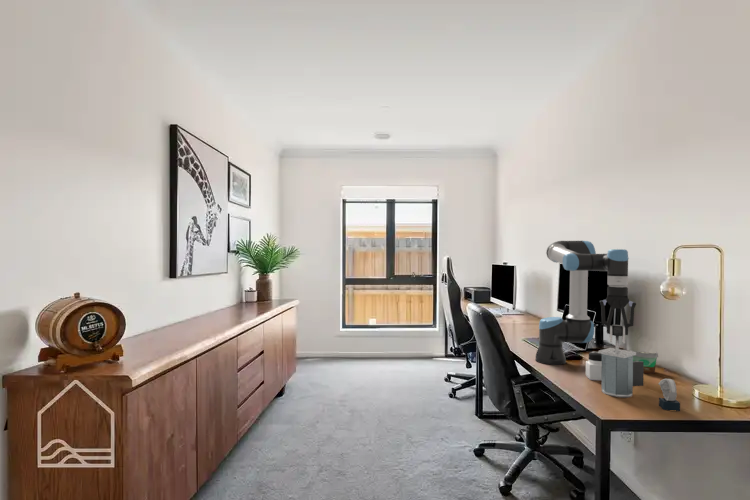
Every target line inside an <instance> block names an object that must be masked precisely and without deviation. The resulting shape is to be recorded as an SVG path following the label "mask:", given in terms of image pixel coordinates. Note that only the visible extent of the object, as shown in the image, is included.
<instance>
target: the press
mask: <svg viewBox="0 0 750 500" xmlns="http://www.w3.org/2000/svg"><path fill="white" fill-rule="evenodd" d="M615 348H616V347H608V348H603V349H600V350H598V351H597V352H598V353H600V354H602V381H601V386H600V387H601V392H602V393H603V394H605V395H607V396H609V397H614V398H622V399H627V398H632V397H633V392H634V391H633V388H634V387H643V386H644V374H645V373H644V362H642V361H633V355H636V352H637V351H635V352H632V351H633V350H632V351H631V350H626V349H620V348H619V352H615Z"/></svg>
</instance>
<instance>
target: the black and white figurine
mask: <svg viewBox="0 0 750 500" xmlns="http://www.w3.org/2000/svg"><path fill="white" fill-rule="evenodd" d="M585 376H586V378H588V380H590V381H601V382H602V354H600V353H598V351H589V353H588V360H586V361H585Z"/></svg>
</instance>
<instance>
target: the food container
mask: <svg viewBox="0 0 750 500" xmlns="http://www.w3.org/2000/svg"><path fill="white" fill-rule="evenodd" d="M630 351H632V352H636V355H633V361H642V362H644V373H643V374H646V375H647V374H648V375H649V374H651V375H653V374H655V372H656V365H657V358H659V353H658V351H656V352H649V351H648V352H647V351H634V350H632V349H630Z"/></svg>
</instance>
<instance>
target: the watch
mask: <svg viewBox="0 0 750 500" xmlns="http://www.w3.org/2000/svg"><path fill="white" fill-rule="evenodd" d="M658 385H659V386H660V387H659V388H660V390H661V391H662V396H663V398H662V397H658V407H659V408H660V409H662V410H663V411H670V410H676V411H675V412H681V402H680V401H679V400H677V395H678V393H677V385H676V382H675V380H674V379H673V378H672V379H671V378H662V379H661V380H660V381H659V382H658Z"/></svg>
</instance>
